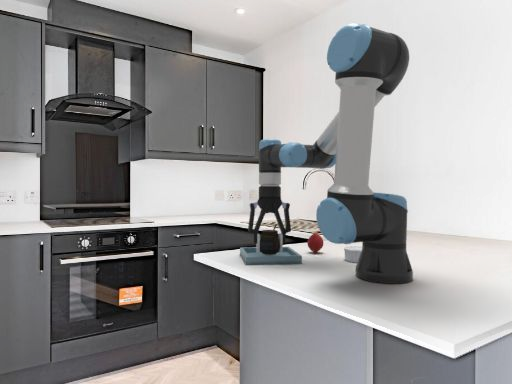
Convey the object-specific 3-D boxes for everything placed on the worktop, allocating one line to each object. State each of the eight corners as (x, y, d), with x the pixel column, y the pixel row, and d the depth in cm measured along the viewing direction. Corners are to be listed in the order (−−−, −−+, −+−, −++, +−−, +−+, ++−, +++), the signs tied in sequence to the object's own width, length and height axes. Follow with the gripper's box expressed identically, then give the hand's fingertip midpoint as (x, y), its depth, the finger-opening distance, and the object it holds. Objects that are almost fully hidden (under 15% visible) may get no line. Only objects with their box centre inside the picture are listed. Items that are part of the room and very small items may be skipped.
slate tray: (301, 263, 127) (301, 255, 127) (246, 265, 124) (246, 257, 124) (288, 253, 145) (288, 246, 145) (240, 254, 142) (240, 247, 142)
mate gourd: (254, 254, 132) (255, 224, 132) (264, 251, 139) (265, 223, 139) (274, 256, 129) (274, 226, 129) (283, 253, 136) (283, 224, 136)
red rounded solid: (318, 255, 142) (318, 232, 142) (304, 253, 146) (304, 231, 145) (325, 252, 147) (326, 231, 146) (312, 251, 150) (312, 230, 150)
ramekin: (372, 264, 128) (372, 250, 127) (344, 262, 129) (344, 249, 129) (369, 258, 136) (369, 246, 136) (343, 257, 138) (343, 245, 138)
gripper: (295, 185, 139) (295, 250, 140) (239, 185, 136) (238, 251, 137) (301, 185, 132) (300, 254, 132) (241, 185, 129) (241, 255, 129)
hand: (269, 252), depth 134 cm, fingers closed on mate gourd, 7 cm apart
